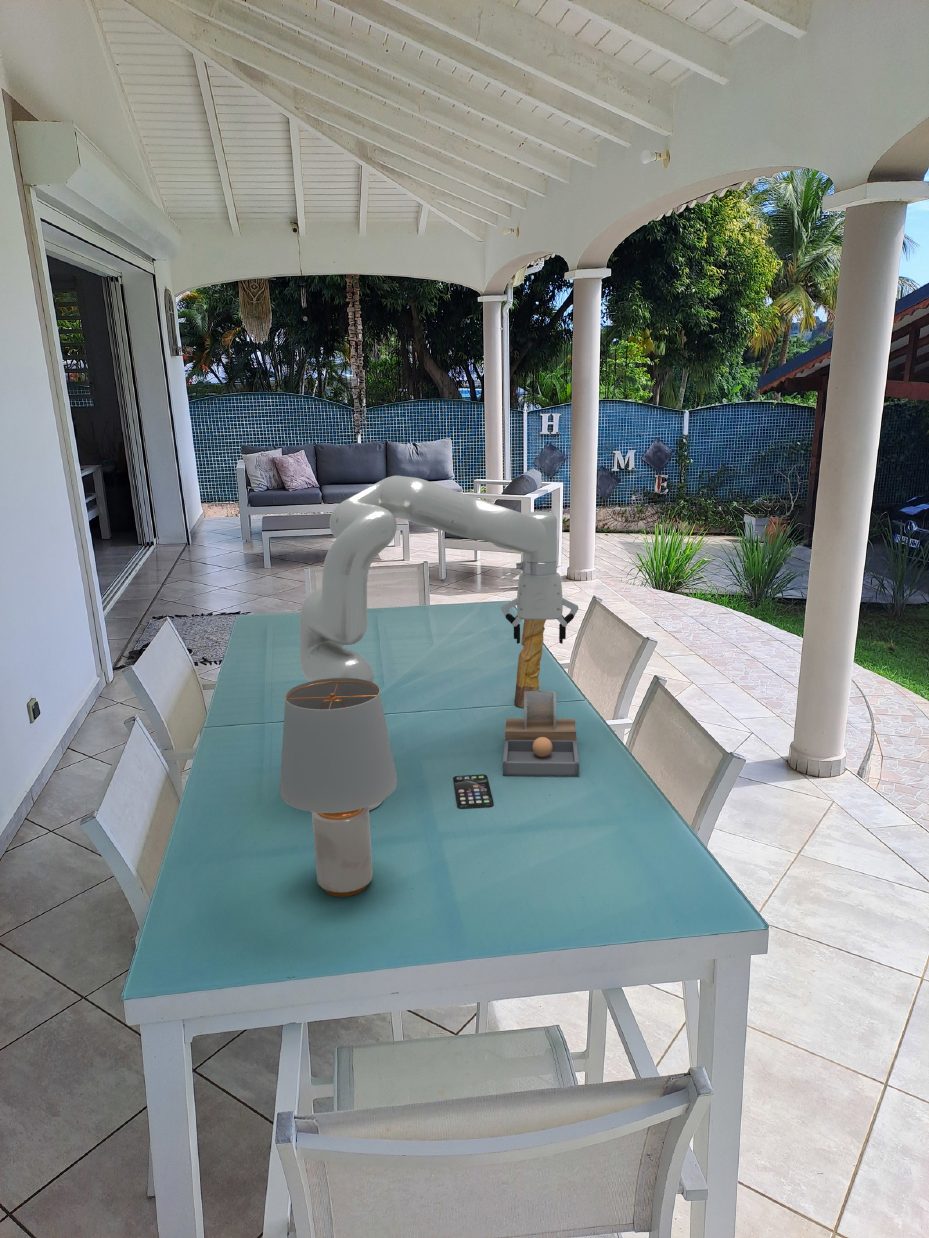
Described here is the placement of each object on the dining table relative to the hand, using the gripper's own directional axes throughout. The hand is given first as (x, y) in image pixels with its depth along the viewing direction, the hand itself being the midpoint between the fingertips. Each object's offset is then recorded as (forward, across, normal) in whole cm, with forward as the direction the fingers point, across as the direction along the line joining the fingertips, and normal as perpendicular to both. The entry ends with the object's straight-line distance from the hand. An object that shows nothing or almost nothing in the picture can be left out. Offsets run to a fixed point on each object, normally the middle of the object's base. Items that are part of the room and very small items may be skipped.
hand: (539, 642), depth 196 cm
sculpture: (+24, -2, +24) cm, 34 cm away
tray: (+24, 0, -13) cm, 27 cm away
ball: (+21, +1, -10) cm, 24 cm away
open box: (+19, 0, -3) cm, 19 cm away
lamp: (+24, -33, -62) cm, 74 cm away
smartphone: (+25, -14, -27) cm, 39 cm away
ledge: (+24, 0, -3) cm, 24 cm away
